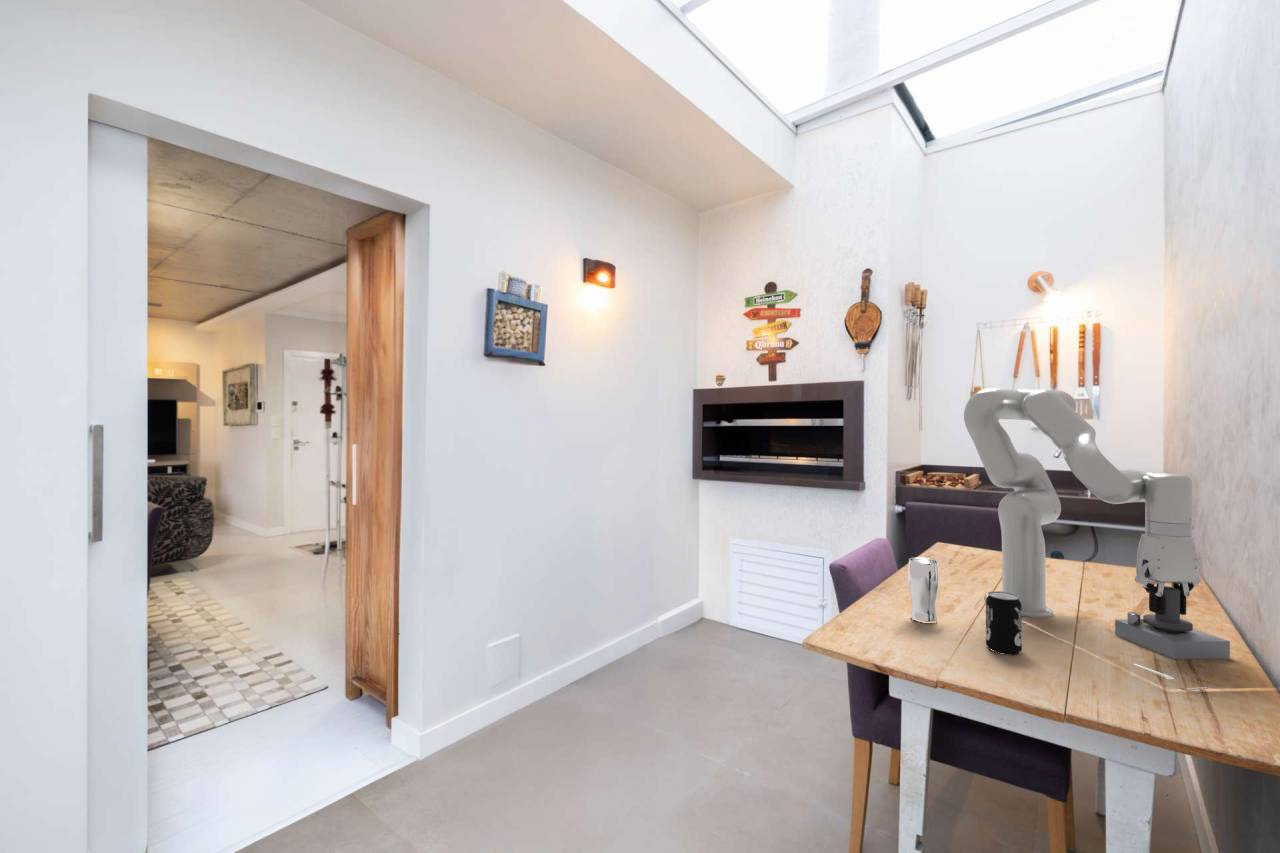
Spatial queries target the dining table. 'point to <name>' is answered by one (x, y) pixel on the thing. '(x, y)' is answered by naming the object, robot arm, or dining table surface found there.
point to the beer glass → (923, 588)
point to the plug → (1169, 614)
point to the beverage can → (1004, 622)
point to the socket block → (1174, 641)
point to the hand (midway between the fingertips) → (1167, 612)
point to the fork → (1170, 678)
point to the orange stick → (1138, 612)
